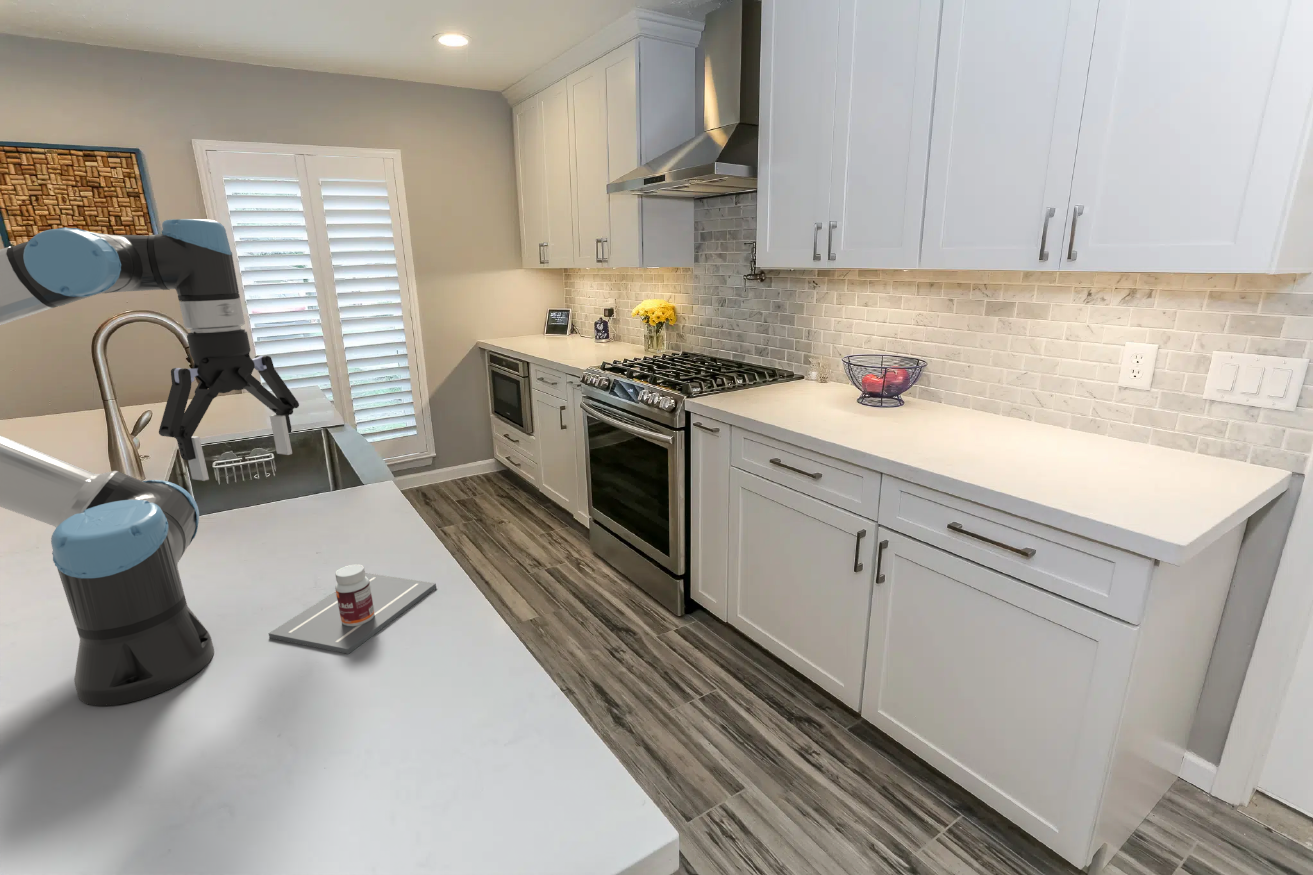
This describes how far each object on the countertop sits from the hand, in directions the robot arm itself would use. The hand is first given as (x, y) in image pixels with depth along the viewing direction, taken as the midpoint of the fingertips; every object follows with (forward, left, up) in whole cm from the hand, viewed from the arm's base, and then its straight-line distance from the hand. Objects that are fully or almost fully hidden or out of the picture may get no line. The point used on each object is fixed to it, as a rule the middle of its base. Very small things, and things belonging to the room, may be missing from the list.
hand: (245, 465), depth 100 cm
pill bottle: (-1, -19, -24) cm, 30 cm away
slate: (+2, -16, -24) cm, 29 cm away
